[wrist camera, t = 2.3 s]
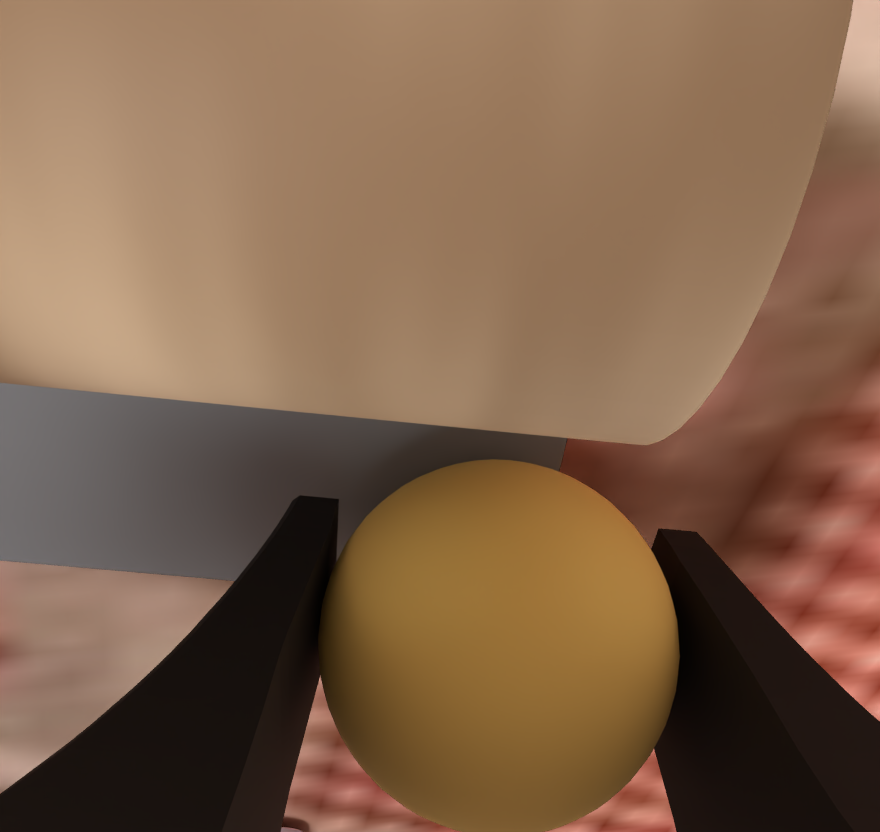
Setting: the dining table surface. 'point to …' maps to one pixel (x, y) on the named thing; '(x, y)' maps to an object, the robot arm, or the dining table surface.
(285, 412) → the grey board
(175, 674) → the robot arm
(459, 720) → the ball
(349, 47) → the roller
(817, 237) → the dining table surface
